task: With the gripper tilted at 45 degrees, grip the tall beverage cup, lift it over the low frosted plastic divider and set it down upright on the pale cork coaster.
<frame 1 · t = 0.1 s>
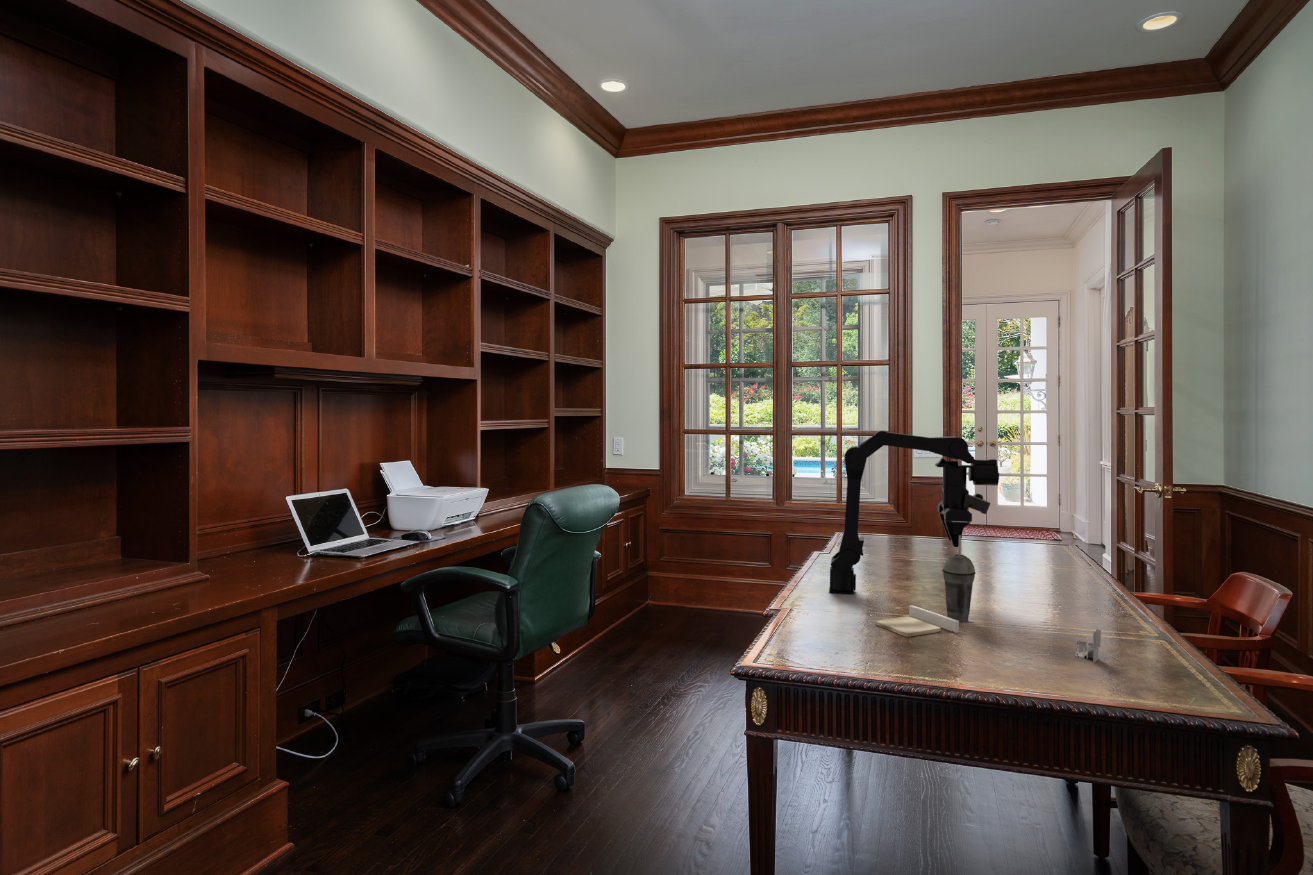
hand: (953, 543, 188), 15 cm above the table, tool pointing down, fingers open, 9 cm apart
coaster: (907, 627, 163), on the table
architectural model: (1066, 664, 142), on the table
beverage cup: (957, 620, 170), on the table
divider wall: (933, 623, 166), on the table
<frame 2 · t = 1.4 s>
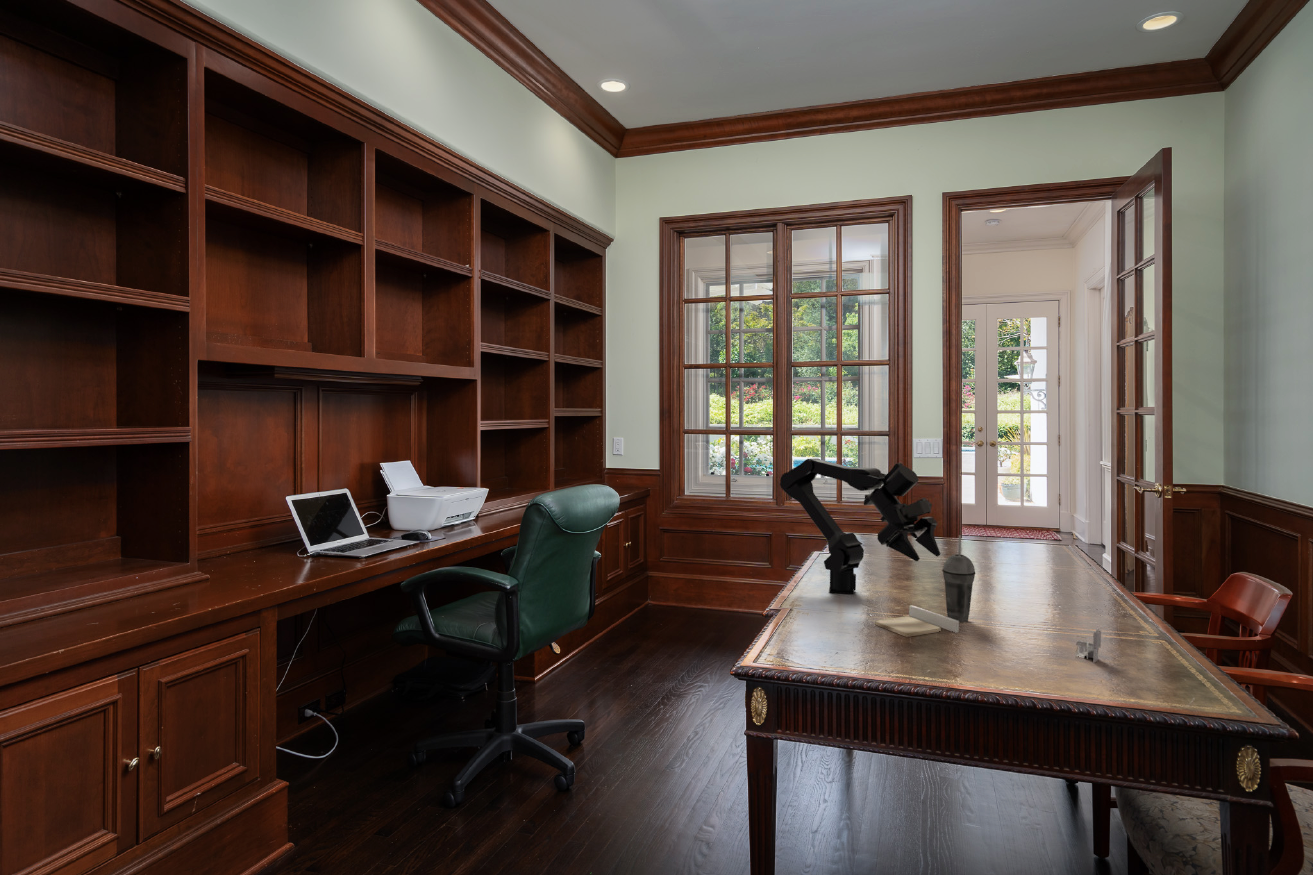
hand: (928, 557, 175), 13 cm above the table, tool tilted 45°, fingers open, 9 cm apart
nothing on the table moved.
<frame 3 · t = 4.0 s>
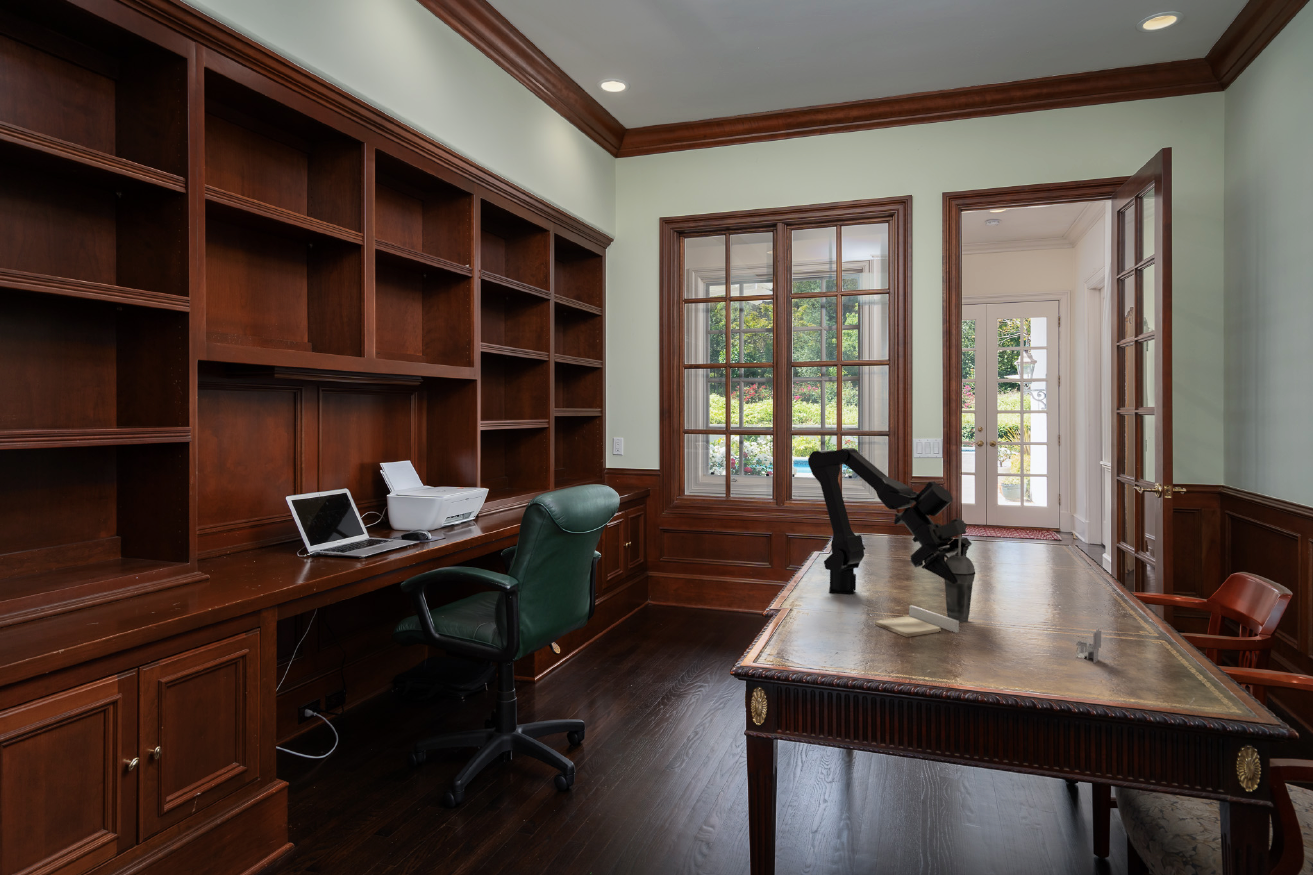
hand: (964, 580, 168), 10 cm above the table, tool tilted 45°, fingers closed on beverage cup, 7 cm apart
beverage cup: (957, 620, 170), on the table, touching gripper
everything else where it was.
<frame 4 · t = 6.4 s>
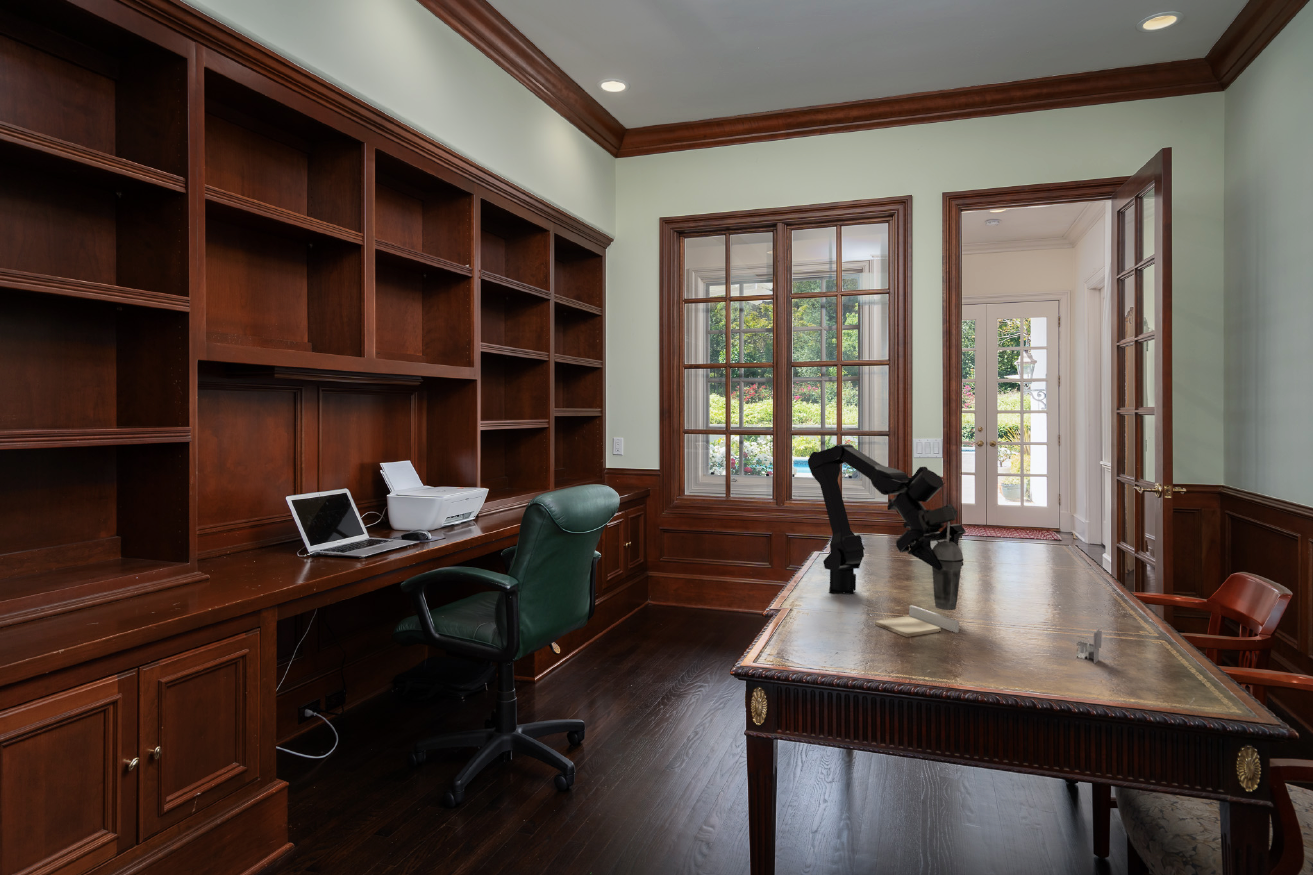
hand: (951, 567, 165), 13 cm above the table, tool tilted 45°, fingers closed on beverage cup, 7 cm apart
beverage cup: (945, 608, 167), point 3 cm above the table, touching gripper
everything else where it was.
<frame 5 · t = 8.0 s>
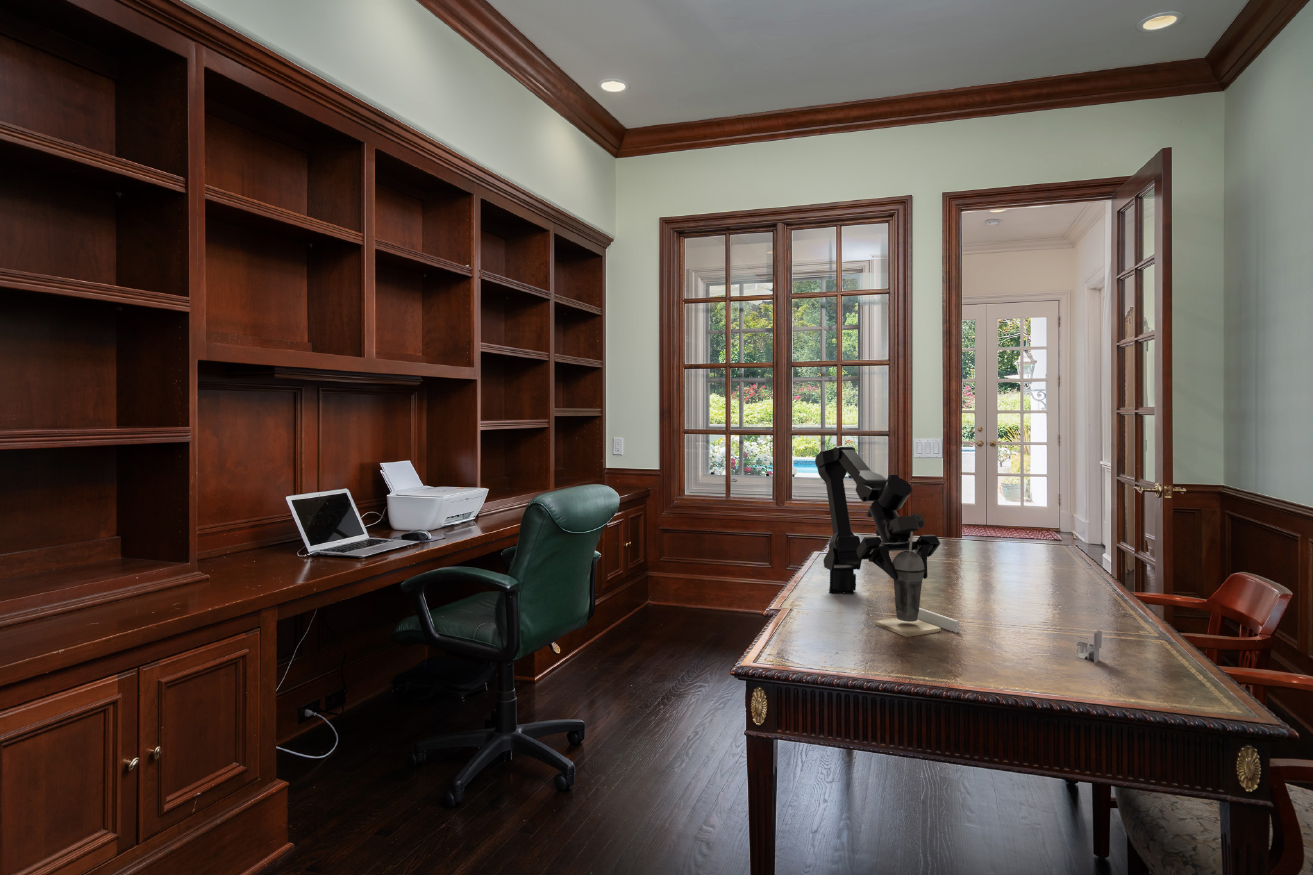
hand: (911, 578, 162), 12 cm above the table, tool tilted 45°, fingers closed on beverage cup, 7 cm apart
beverage cup: (907, 619, 163), point 2 cm above the table, touching gripper
everything else where it was.
when the fingers open (12 cm above the table, at t = 8.9 s): beverage cup drops 1 cm, resting on coaster.
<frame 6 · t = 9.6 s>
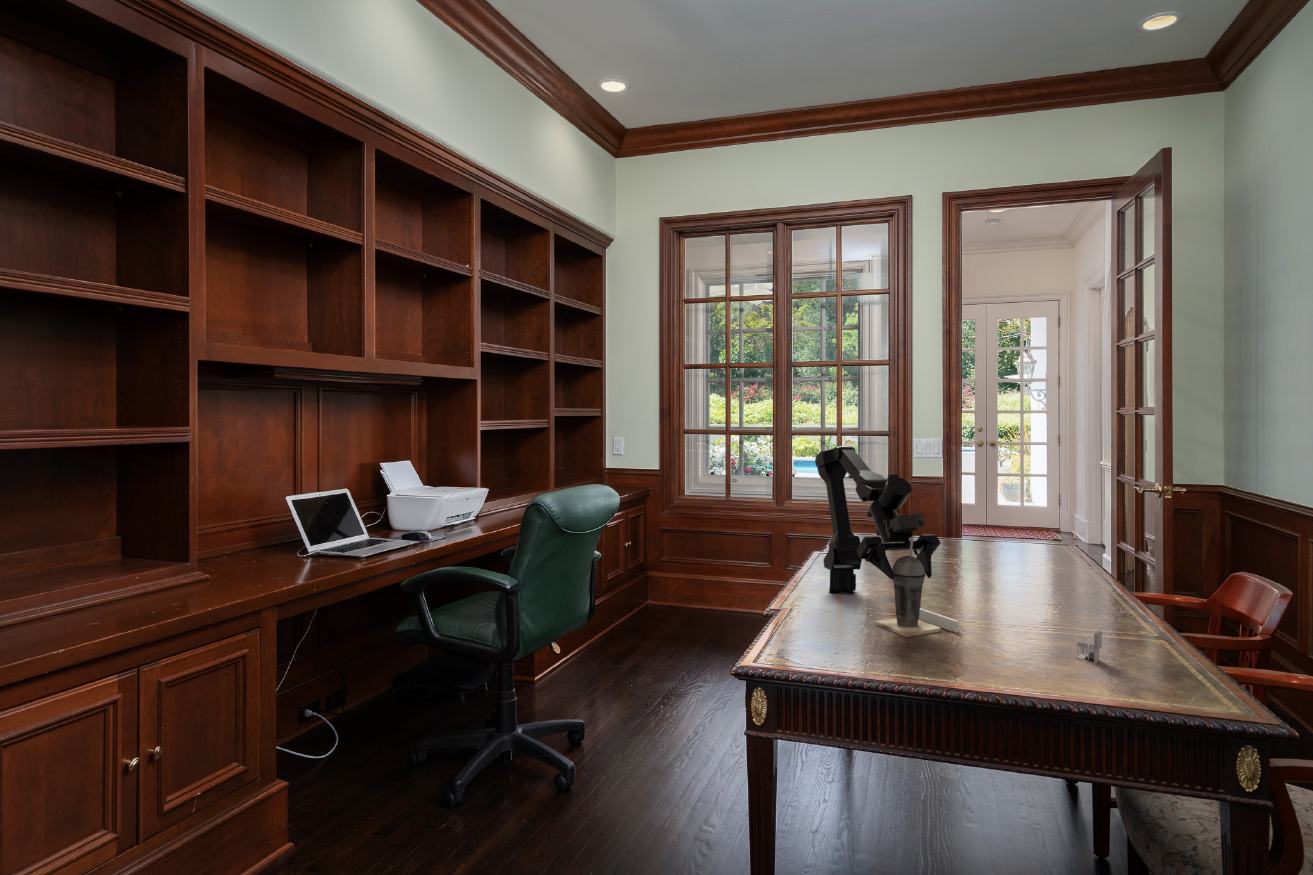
hand: (911, 577, 161), 12 cm above the table, tool tilted 45°, fingers open, 9 cm apart
beverage cup: (907, 624, 163), point 1 cm above the table, touching coaster
everything else where it was.
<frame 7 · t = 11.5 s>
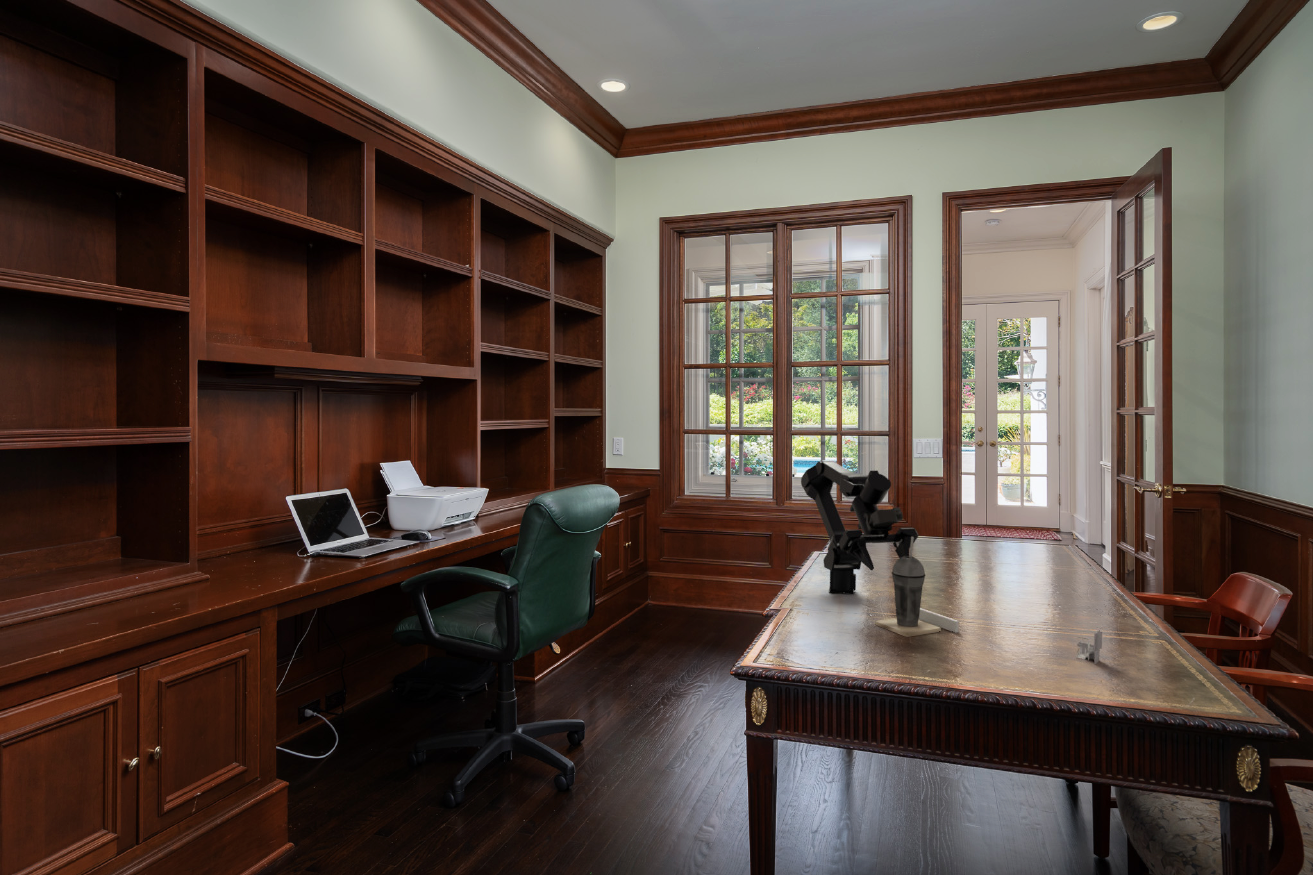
hand: (890, 568, 171), 12 cm above the table, tool tilted 45°, fingers open, 9 cm apart
nothing on the table moved.
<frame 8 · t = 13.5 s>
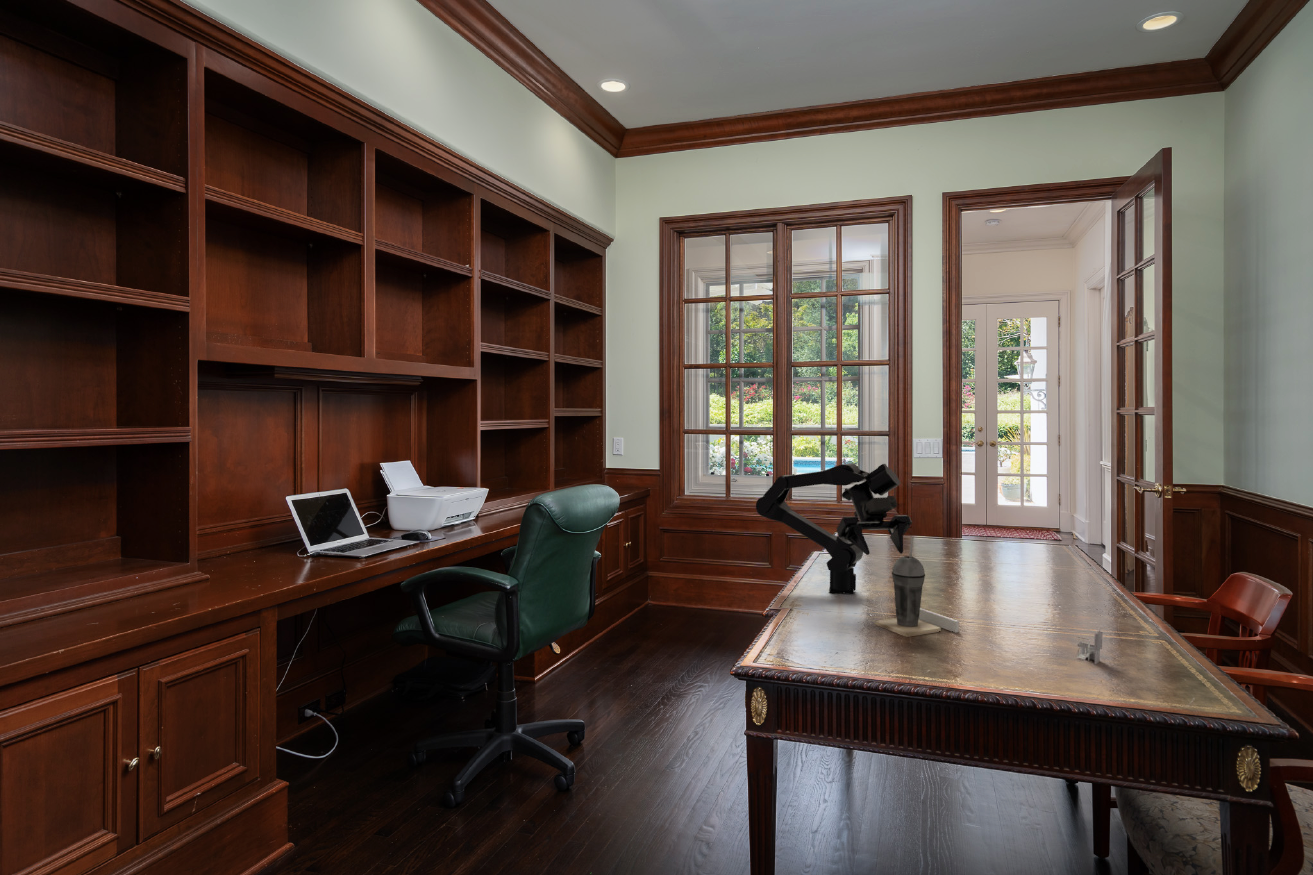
hand: (885, 553, 180), 14 cm above the table, tool tilted 45°, fingers open, 9 cm apart
nothing on the table moved.
at the end: beverage cup inside the target area (0.2 cm from its centre), point 0.6 cm above the table; beverage cup tilted 0°; the gripper is holding nothing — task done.
